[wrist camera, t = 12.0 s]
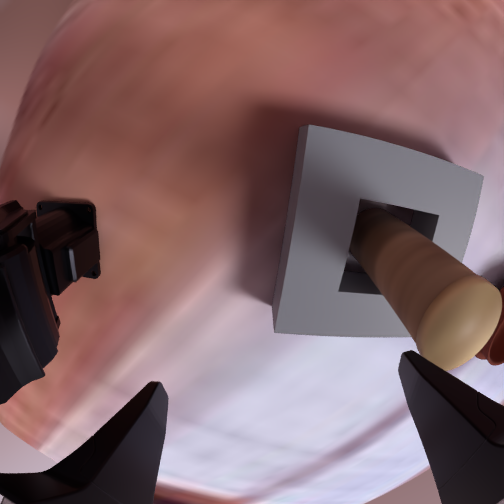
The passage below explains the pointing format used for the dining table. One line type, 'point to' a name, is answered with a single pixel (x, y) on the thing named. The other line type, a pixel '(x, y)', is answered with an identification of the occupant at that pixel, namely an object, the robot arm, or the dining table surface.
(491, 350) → the pottery
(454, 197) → the socket block
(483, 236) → the dining table surface
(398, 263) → the tan wooden cylinder
